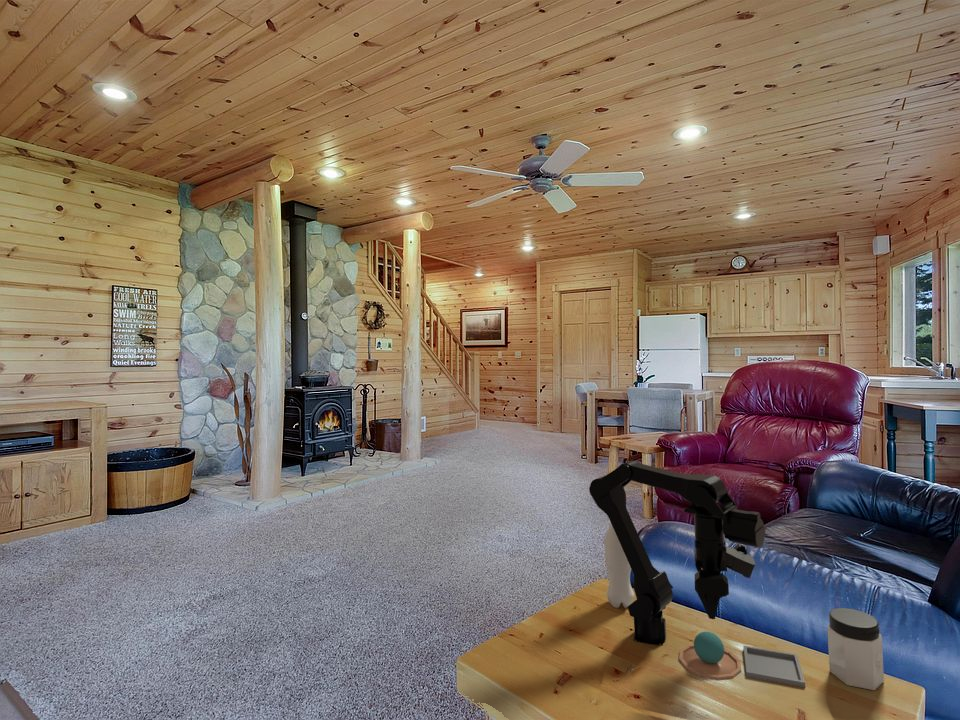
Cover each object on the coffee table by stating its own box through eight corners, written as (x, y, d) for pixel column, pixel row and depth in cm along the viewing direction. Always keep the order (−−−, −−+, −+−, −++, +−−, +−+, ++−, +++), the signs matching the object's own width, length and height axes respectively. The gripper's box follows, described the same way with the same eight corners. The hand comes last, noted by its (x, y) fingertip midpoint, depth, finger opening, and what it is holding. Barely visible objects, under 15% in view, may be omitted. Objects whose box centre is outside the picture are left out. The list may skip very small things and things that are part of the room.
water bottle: (608, 610, 135) (603, 515, 135) (606, 597, 142) (601, 507, 142) (636, 611, 133) (631, 515, 133) (632, 598, 141) (628, 507, 141)
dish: (678, 674, 107) (677, 669, 107) (681, 644, 117) (680, 639, 117) (742, 686, 102) (742, 681, 102) (739, 654, 113) (739, 649, 113)
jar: (871, 696, 97) (868, 633, 97) (823, 675, 104) (820, 616, 104) (889, 678, 102) (886, 618, 102) (843, 659, 109) (840, 603, 109)
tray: (746, 679, 104) (746, 671, 104) (743, 652, 113) (743, 645, 113) (805, 690, 100) (805, 682, 100) (797, 661, 109) (797, 654, 109)
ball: (694, 666, 108) (692, 638, 108) (694, 651, 113) (693, 624, 114) (725, 672, 106) (723, 643, 106) (724, 656, 111) (723, 628, 111)
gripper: (756, 557, 98) (758, 637, 98) (747, 525, 115) (749, 594, 115) (693, 550, 102) (696, 627, 102) (693, 520, 119) (695, 587, 119)
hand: (711, 608), depth 110 cm, fingers open, 9 cm apart
